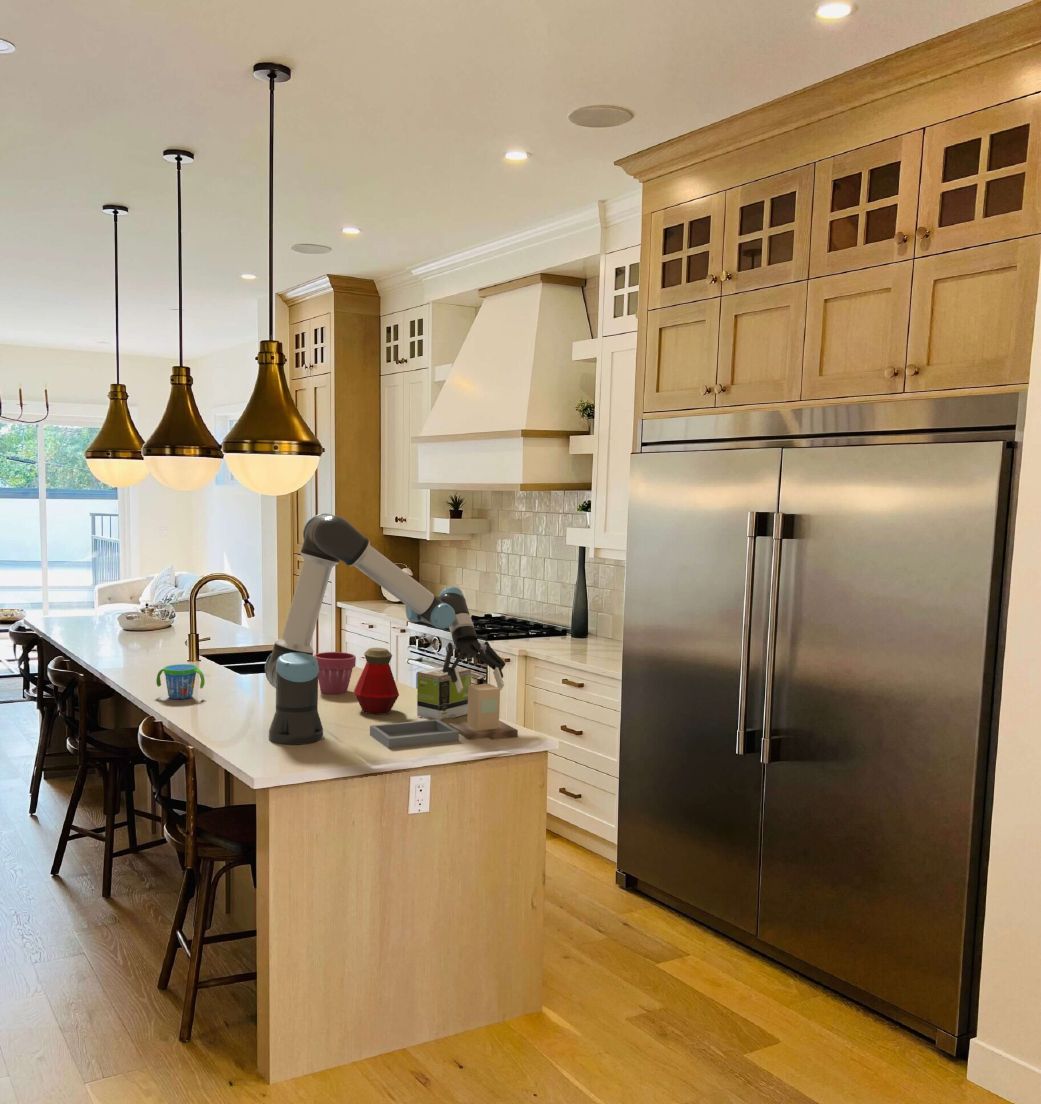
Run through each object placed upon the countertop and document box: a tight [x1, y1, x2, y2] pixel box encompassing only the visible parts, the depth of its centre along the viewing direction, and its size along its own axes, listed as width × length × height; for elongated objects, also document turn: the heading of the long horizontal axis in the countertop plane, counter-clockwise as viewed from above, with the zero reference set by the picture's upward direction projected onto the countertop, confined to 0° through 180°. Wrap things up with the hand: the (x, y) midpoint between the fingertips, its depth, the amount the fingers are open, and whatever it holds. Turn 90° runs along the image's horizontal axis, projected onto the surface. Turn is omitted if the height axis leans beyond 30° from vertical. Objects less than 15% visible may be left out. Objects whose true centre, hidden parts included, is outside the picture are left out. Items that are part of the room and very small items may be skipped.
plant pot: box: [313, 651, 357, 695], centre depth 335 cm, size 14×14×13 cm
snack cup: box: [155, 663, 205, 700], centre depth 318 cm, size 16×10×10 cm
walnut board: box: [448, 720, 519, 740], centre depth 287 cm, size 16×14×2 cm
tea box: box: [416, 664, 472, 721], centre depth 307 cm, size 15×10×15 cm, turn 141°
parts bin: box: [369, 718, 460, 750], centre depth 277 cm, size 21×15×4 cm
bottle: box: [353, 647, 400, 715], centre depth 309 cm, size 16×14×20 cm
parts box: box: [466, 683, 501, 731], centre depth 286 cm, size 7×7×12 cm
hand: (481, 689), depth 289 cm, fingers open, 13 cm apart
